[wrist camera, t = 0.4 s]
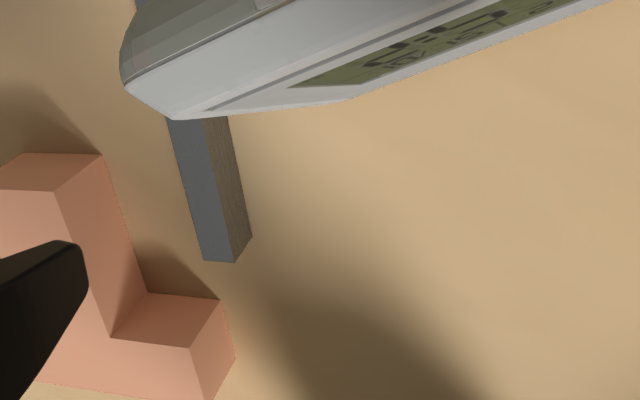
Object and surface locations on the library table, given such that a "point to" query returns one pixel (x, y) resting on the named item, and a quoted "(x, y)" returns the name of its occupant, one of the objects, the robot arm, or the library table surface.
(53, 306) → the robot arm
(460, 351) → the library table surface
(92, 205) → the t block
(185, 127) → the fence
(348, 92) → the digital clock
